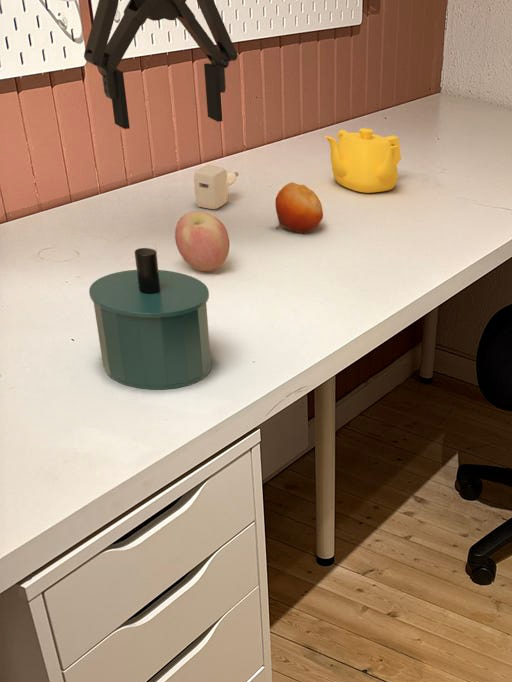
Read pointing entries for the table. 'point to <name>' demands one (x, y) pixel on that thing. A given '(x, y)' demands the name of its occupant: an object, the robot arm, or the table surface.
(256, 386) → the table surface
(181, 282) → the pot lid
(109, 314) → the pot
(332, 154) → the teapot
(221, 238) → the apple
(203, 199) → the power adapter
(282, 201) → the fruit
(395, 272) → the table surface
